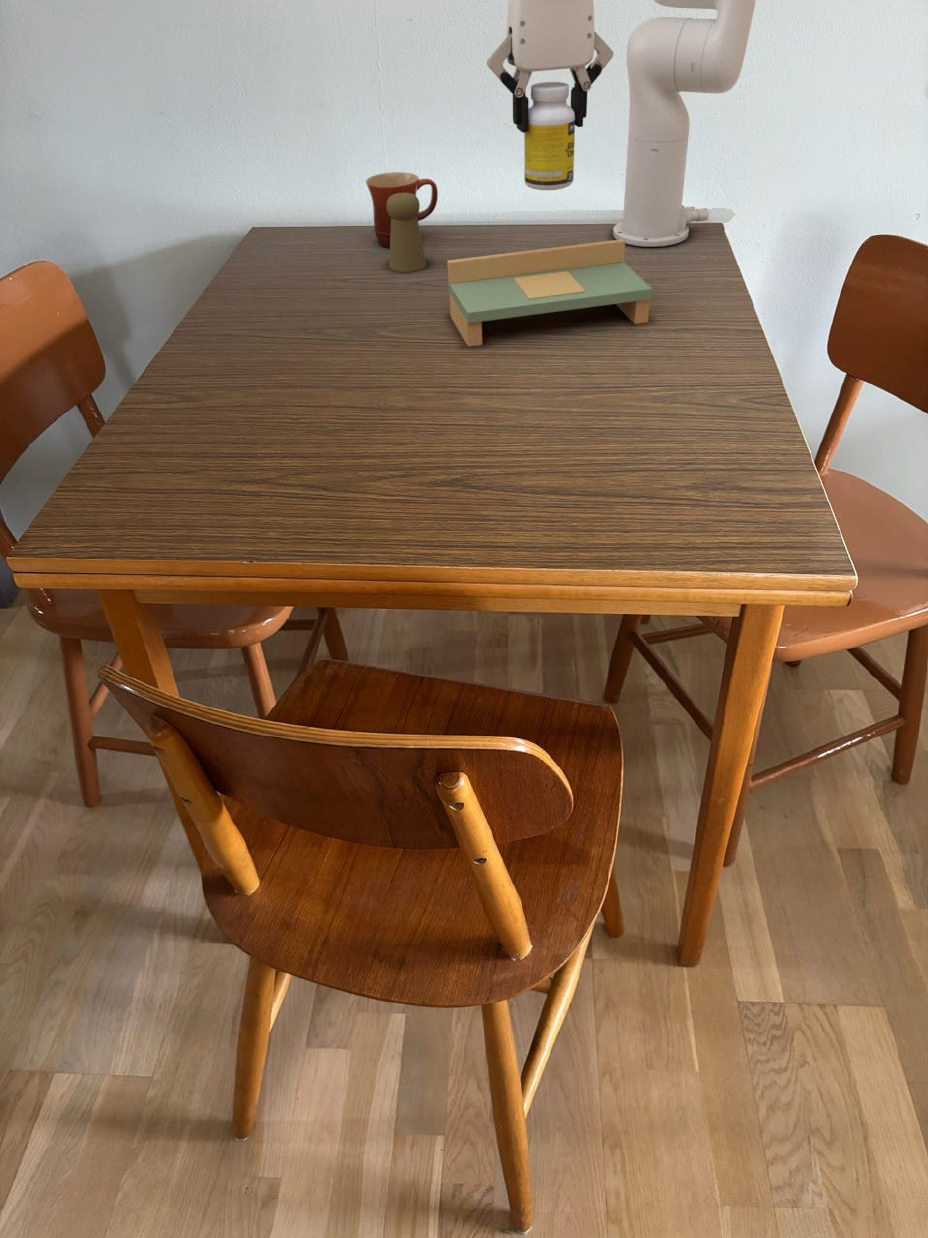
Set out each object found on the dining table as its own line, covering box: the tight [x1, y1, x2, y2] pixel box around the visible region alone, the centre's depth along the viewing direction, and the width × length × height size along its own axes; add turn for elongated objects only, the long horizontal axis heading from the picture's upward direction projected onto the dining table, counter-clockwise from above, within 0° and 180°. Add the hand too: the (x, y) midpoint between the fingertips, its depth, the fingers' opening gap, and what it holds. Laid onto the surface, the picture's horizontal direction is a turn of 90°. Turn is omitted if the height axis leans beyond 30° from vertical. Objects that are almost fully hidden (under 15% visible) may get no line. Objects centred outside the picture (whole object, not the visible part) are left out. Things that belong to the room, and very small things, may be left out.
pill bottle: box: [523, 81, 576, 191], centre depth 122 cm, size 6×6×12 cm
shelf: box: [446, 239, 653, 348], centre depth 134 cm, size 26×12×8 cm, turn 103°
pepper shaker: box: [386, 193, 427, 273], centre depth 153 cm, size 6×6×11 cm
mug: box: [365, 171, 439, 249], centre depth 162 cm, size 12×9×10 cm
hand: (549, 125), depth 121 cm, fingers closed on pill bottle, 6 cm apart
